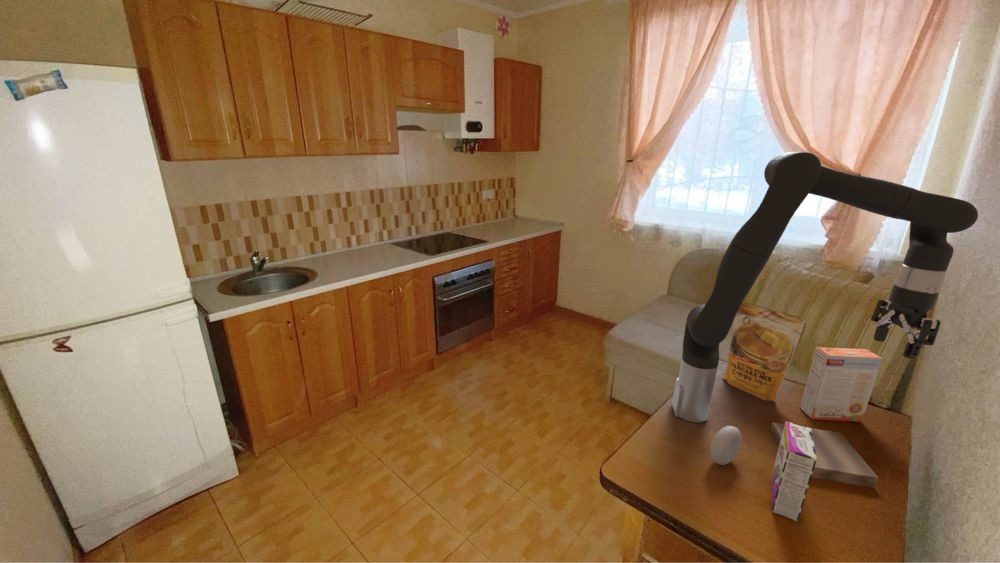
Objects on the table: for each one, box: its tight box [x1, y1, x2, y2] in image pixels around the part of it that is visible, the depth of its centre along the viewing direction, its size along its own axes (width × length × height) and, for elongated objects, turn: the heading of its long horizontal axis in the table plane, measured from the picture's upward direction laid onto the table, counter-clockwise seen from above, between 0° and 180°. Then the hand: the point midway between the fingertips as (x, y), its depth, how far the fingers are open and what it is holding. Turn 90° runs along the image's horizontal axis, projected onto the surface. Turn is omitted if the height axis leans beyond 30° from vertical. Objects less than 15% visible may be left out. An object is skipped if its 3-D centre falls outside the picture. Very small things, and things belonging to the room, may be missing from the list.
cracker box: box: [799, 346, 883, 423], centre depth 113 cm, size 14×6×21 cm, turn 84°
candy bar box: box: [770, 421, 817, 522], centre depth 85 cm, size 11×5×16 cm, turn 148°
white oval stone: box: [709, 425, 743, 465], centre depth 97 cm, size 10×4×10 cm, turn 120°
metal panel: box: [769, 421, 880, 489], centre depth 100 cm, size 16×16×3 cm
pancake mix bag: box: [722, 301, 807, 403], centre depth 125 cm, size 7×19×28 cm, turn 34°
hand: (893, 348), depth 96 cm, fingers open, 8 cm apart
